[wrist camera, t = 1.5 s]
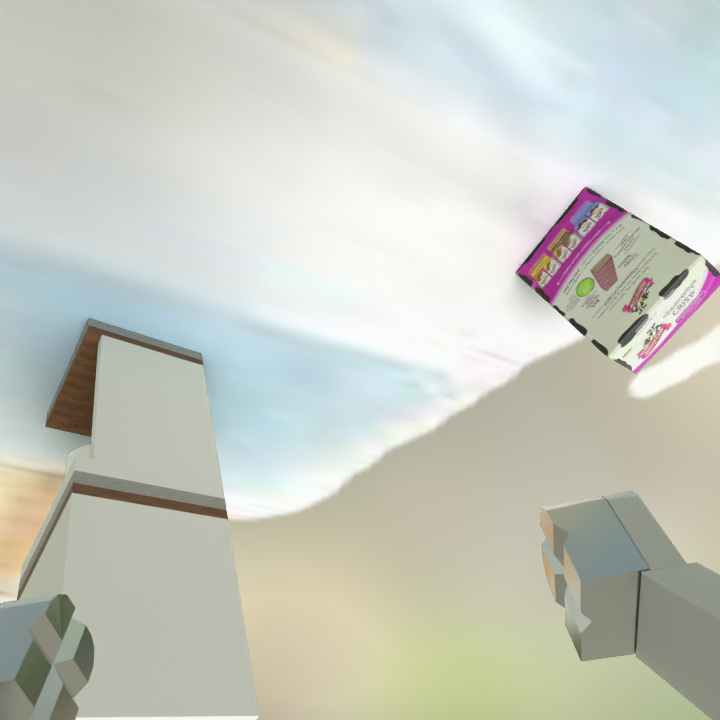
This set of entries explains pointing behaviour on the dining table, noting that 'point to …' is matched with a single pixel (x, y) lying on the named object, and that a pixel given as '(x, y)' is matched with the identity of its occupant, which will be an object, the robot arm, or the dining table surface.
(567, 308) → the candy bar box
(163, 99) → the dining table surface
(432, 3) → the dining table surface
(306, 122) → the dining table surface
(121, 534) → the display case
